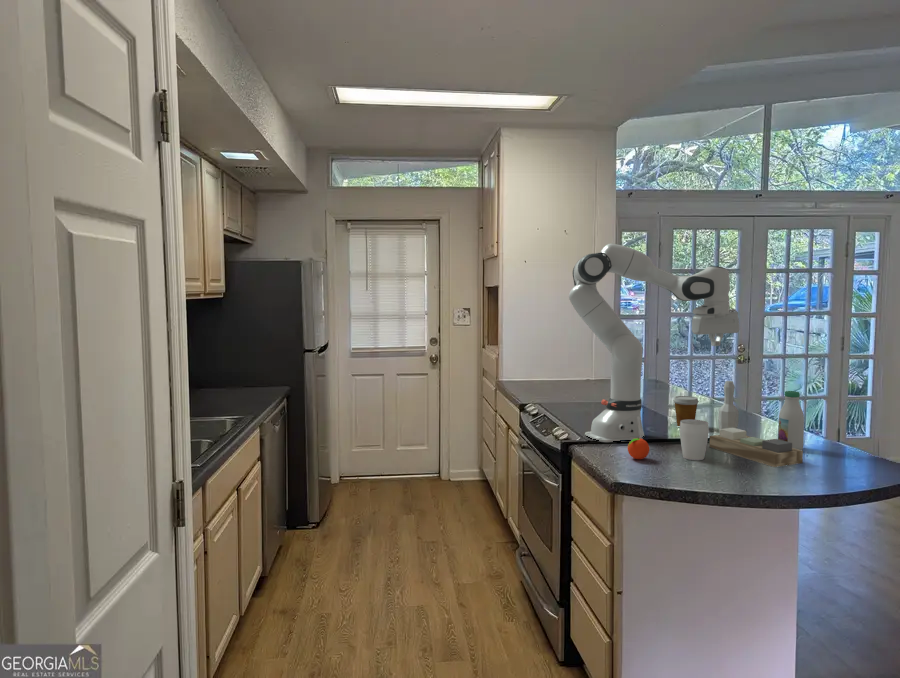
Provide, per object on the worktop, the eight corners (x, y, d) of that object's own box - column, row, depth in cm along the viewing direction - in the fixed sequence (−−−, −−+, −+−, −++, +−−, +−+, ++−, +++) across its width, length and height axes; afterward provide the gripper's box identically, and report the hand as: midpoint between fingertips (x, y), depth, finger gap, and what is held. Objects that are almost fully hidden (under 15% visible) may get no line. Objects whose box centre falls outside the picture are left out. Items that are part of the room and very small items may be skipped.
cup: (707, 455, 207) (708, 420, 206) (709, 462, 198) (709, 425, 197) (678, 453, 210) (679, 418, 209) (679, 460, 201) (679, 424, 200)
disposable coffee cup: (701, 429, 244) (702, 399, 244) (677, 429, 245) (678, 399, 244) (692, 424, 254) (693, 395, 253) (669, 424, 254) (670, 395, 253)
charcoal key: (777, 457, 195) (778, 444, 194) (762, 452, 200) (762, 440, 200) (791, 455, 197) (792, 442, 196) (775, 450, 202) (776, 438, 202)
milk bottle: (802, 447, 216) (803, 390, 215) (804, 452, 209) (806, 394, 208) (777, 444, 220) (778, 389, 218) (778, 450, 213) (780, 392, 211)
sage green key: (754, 454, 203) (754, 442, 203) (739, 450, 209) (740, 438, 208) (767, 452, 205) (768, 440, 205) (753, 448, 211) (753, 436, 210)
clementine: (635, 463, 198) (636, 441, 198) (620, 458, 204) (620, 437, 204) (653, 460, 202) (654, 438, 201) (638, 455, 208) (638, 434, 208)
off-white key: (732, 444, 211) (733, 432, 211) (719, 440, 217) (719, 429, 217) (746, 442, 213) (746, 431, 213) (732, 438, 219) (732, 427, 219)
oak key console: (774, 467, 192) (775, 454, 192) (709, 447, 217) (709, 436, 217) (802, 463, 197) (802, 450, 196) (735, 443, 222) (735, 432, 221)
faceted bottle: (728, 438, 230) (730, 379, 228) (741, 442, 224) (743, 382, 222) (714, 439, 228) (715, 380, 227) (727, 443, 222) (728, 383, 221)
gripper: (731, 308, 240) (730, 343, 241) (689, 309, 232) (688, 346, 233) (744, 308, 234) (743, 345, 235) (701, 310, 226) (701, 347, 227)
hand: (715, 345), depth 234 cm, fingers closed
